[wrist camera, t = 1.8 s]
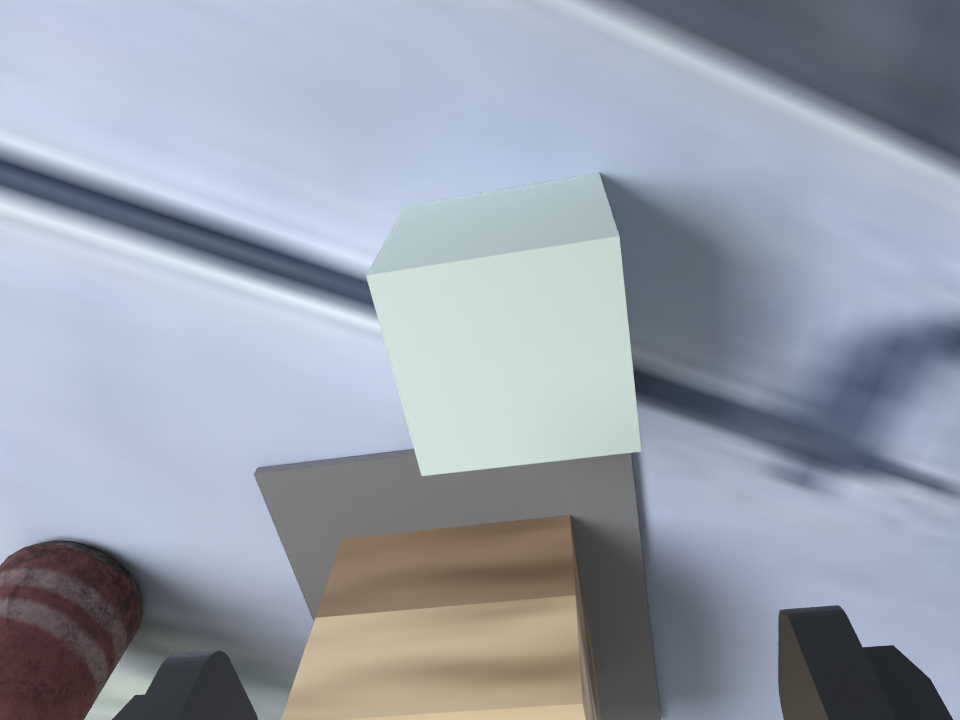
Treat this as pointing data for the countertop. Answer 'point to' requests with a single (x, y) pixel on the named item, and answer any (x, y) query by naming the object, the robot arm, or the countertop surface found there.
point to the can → (61, 629)
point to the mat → (479, 500)
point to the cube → (509, 327)
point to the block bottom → (459, 570)
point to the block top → (447, 664)
